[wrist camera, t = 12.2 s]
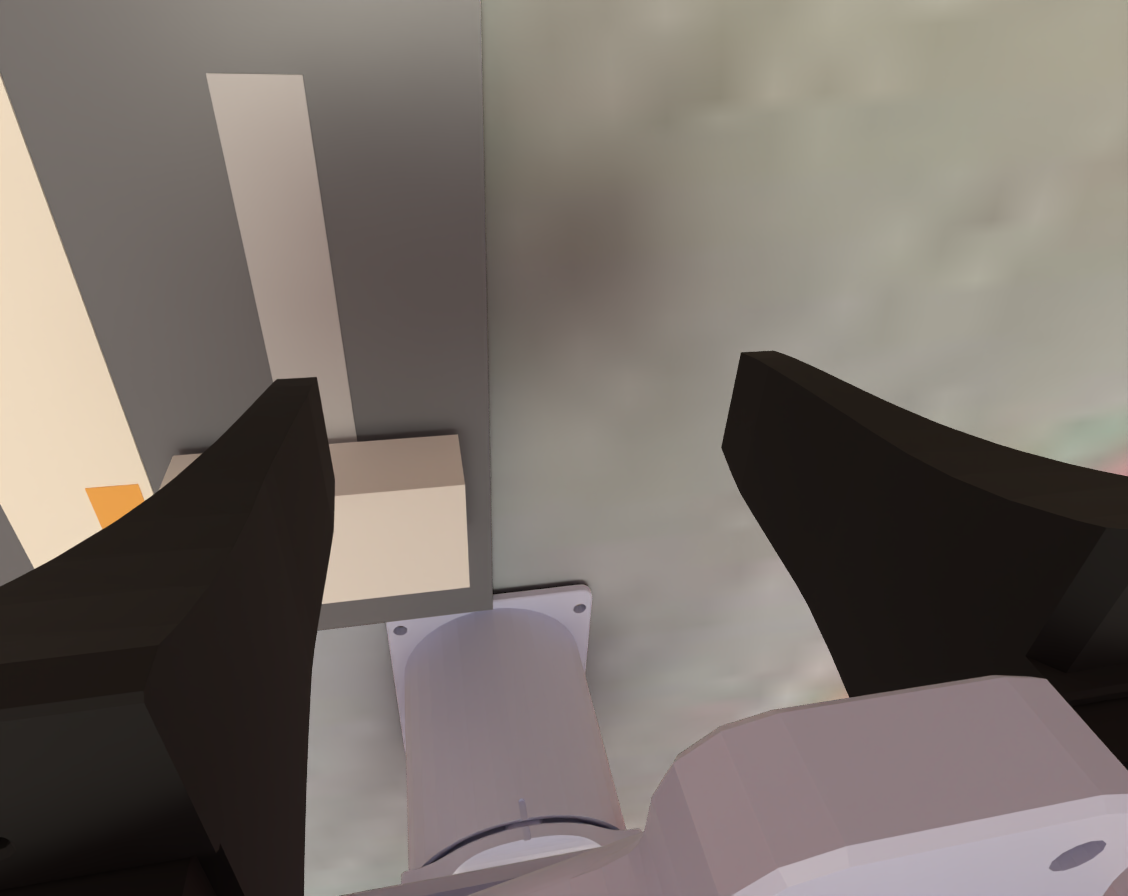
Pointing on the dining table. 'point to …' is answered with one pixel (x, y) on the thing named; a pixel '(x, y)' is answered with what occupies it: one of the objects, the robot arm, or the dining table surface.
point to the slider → (392, 517)
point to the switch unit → (236, 248)
